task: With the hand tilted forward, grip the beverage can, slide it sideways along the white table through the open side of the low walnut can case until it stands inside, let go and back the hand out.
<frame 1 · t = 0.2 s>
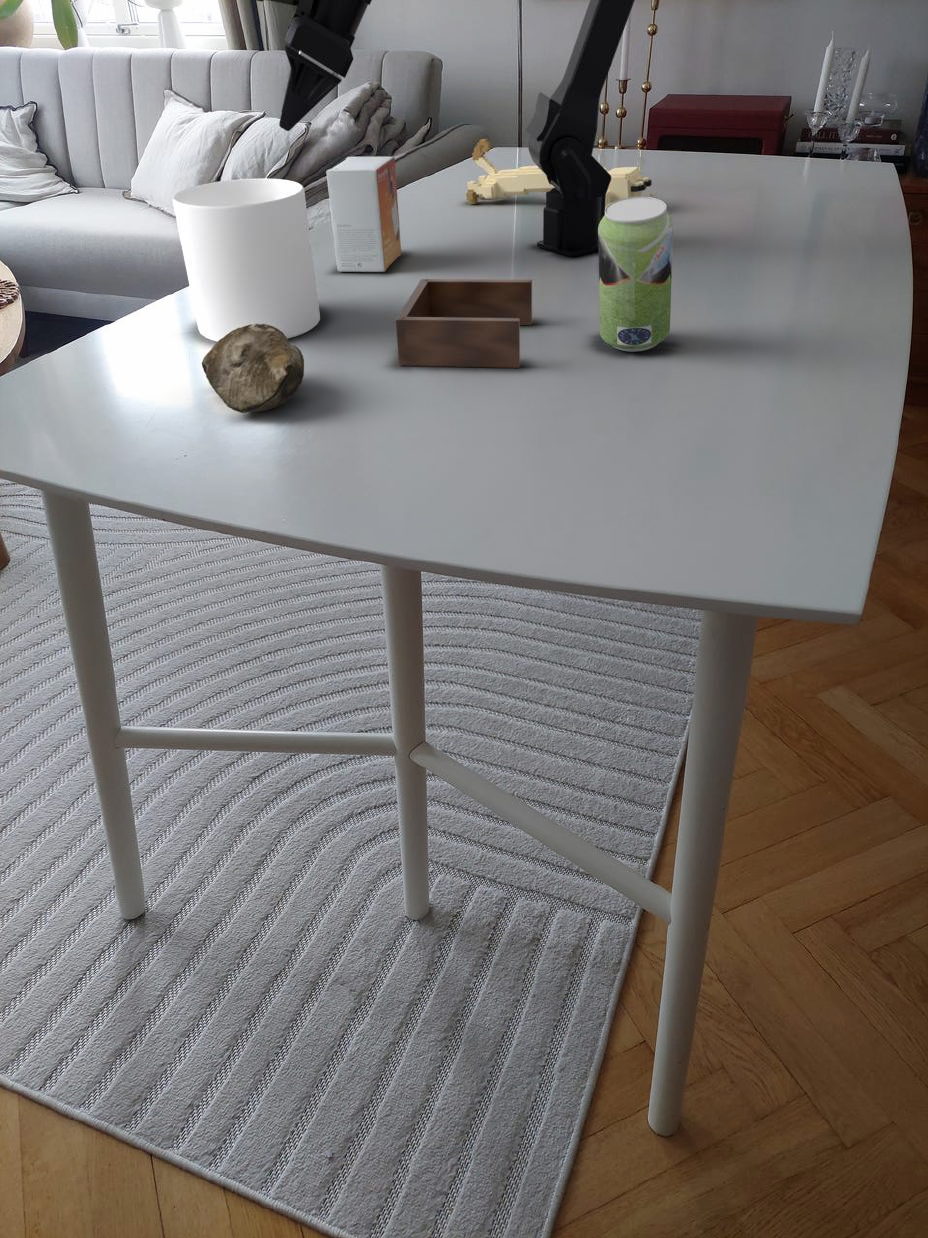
hand: (284, 121, 100), 15 cm above the table, tool tilted 30°, fingers open, 9 cm apart
fossilized seashell: (261, 399, 78), on the table
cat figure: (559, 207, 128), on the table
cup: (260, 325, 93), on the table
beverage can: (630, 348, 85), on the table
small box: (370, 264, 110), on the table
can case: (470, 343, 87), on the table
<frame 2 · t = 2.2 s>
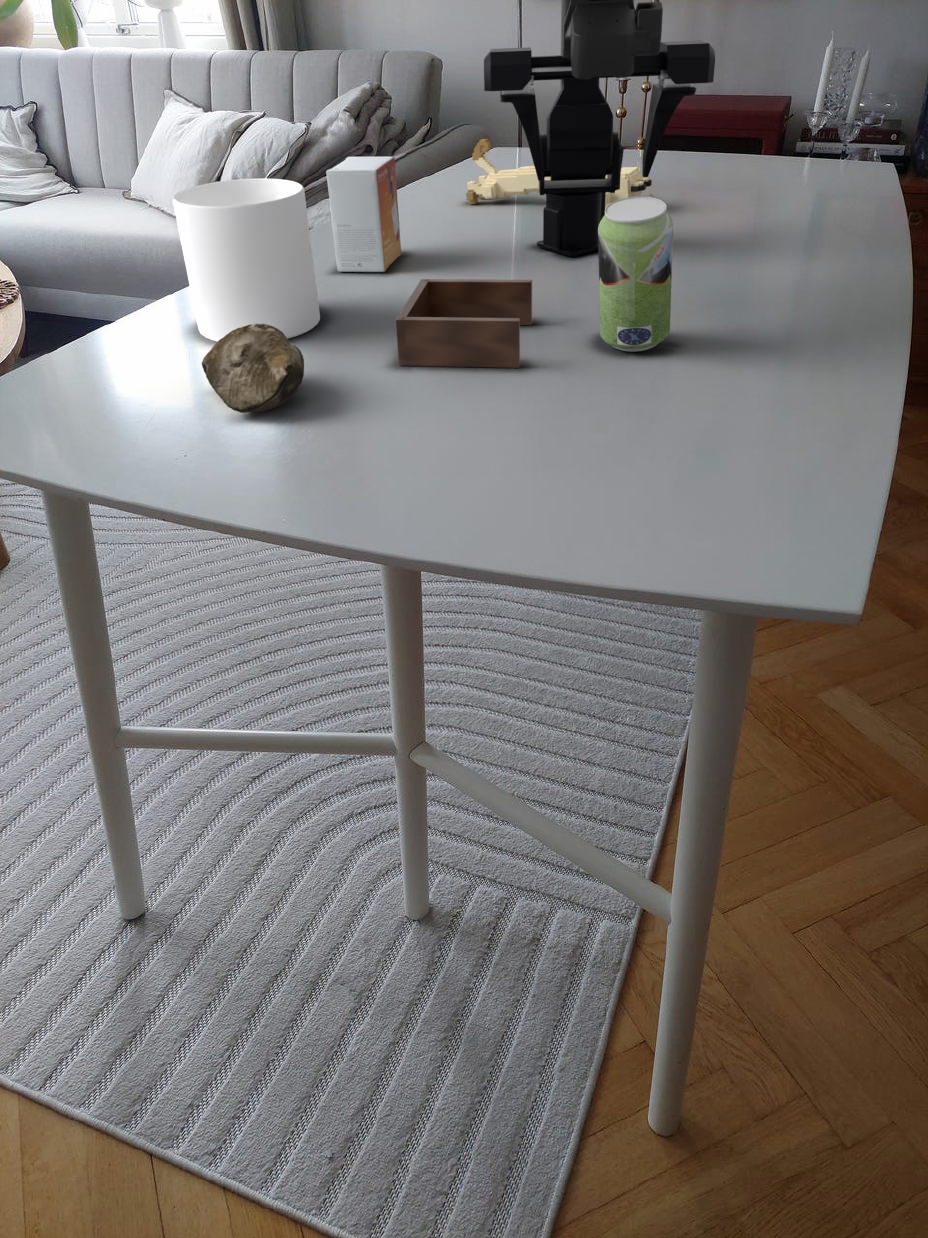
hand: (592, 178, 85), 12 cm above the table, tool pointing down, fingers open, 9 cm apart
nothing on the table moved.
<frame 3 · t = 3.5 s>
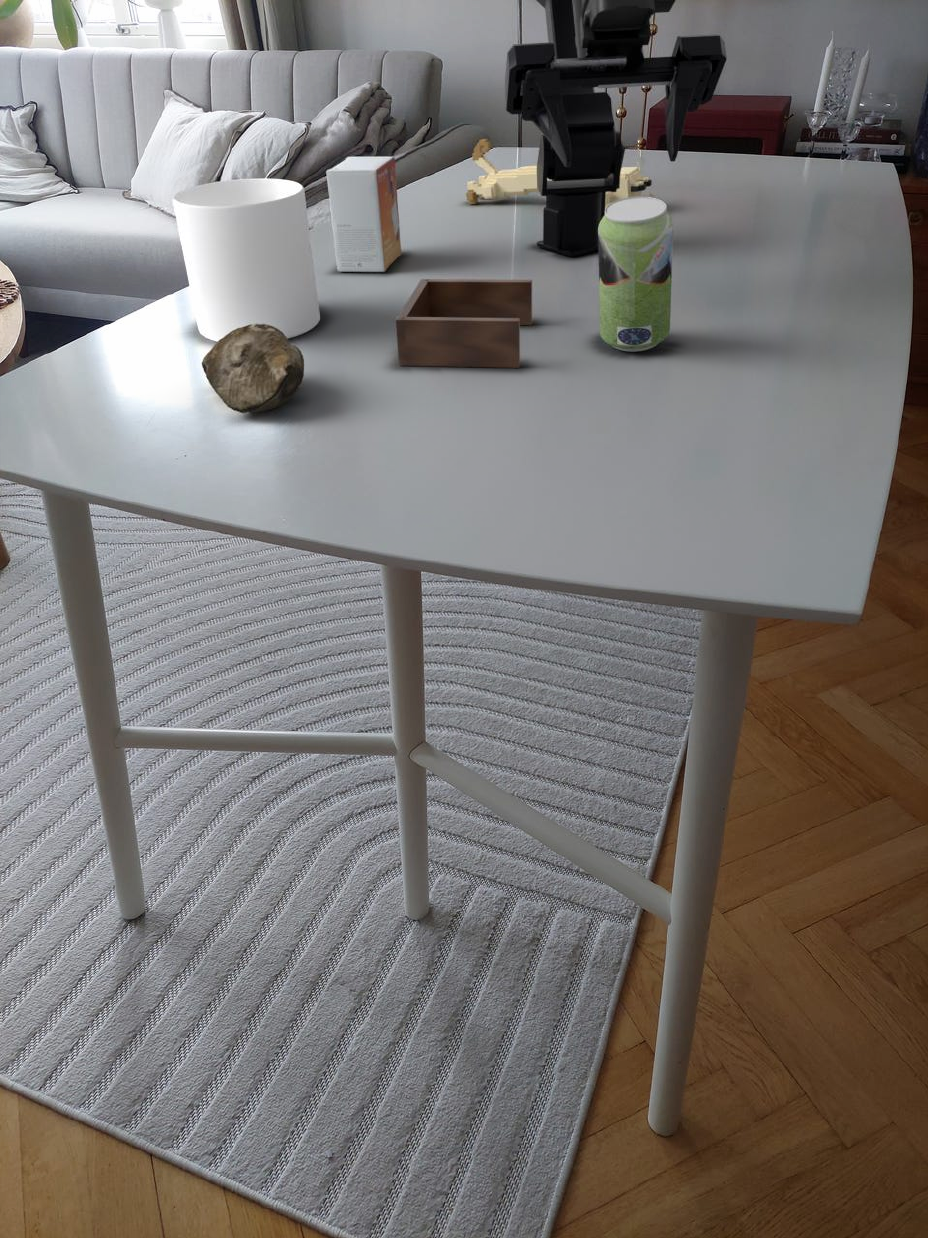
hand: (621, 161, 83), 14 cm above the table, tool tilted 45°, fingers open, 9 cm apart
nothing on the table moved.
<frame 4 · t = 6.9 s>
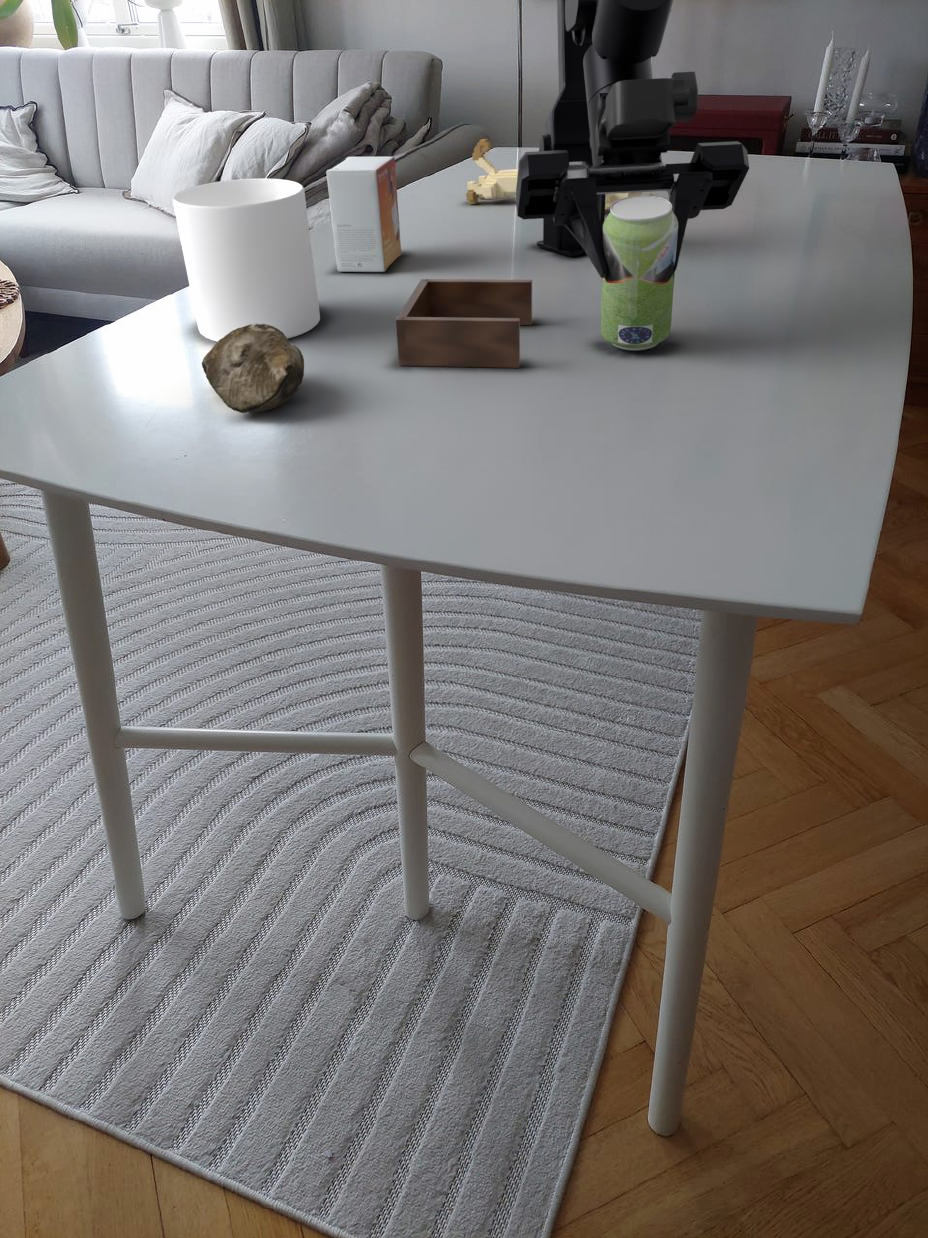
hand: (638, 273, 80), 7 cm above the table, tool tilted 45°, fingers closed on beverage can, 5 cm apart
beverage can: (631, 347, 85), on the table, touching gripper
everything else where it was.
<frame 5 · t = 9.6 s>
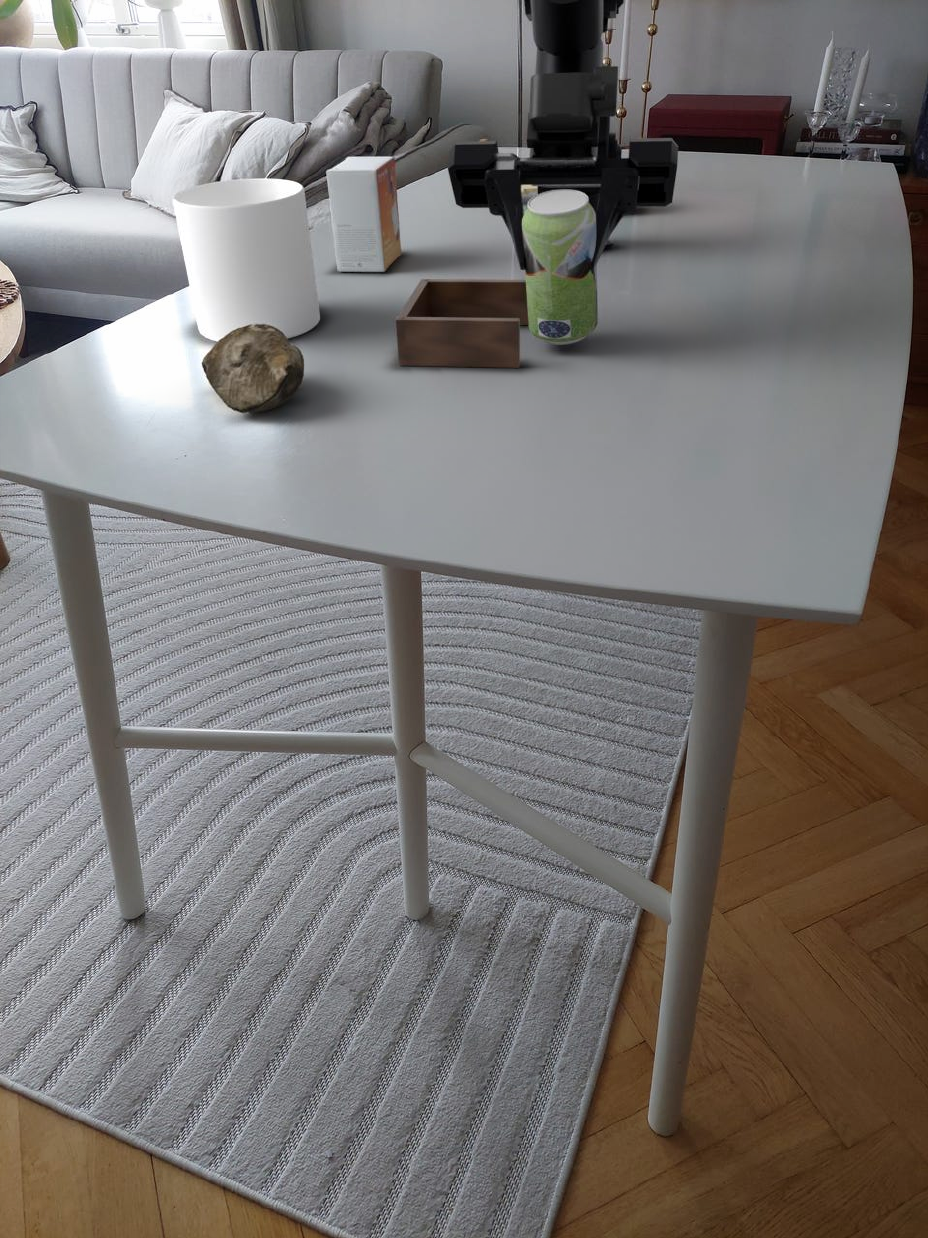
hand: (556, 267, 80), 7 cm above the table, tool tilted 45°, fingers closed on beverage can, 5 cm apart
beverage can: (557, 340, 85), point 1 cm above the table, touching gripper
everything else where it was.
when the fingers open (7 cm above the table, at t = 12.4 s): beverage can stays where it is, on the table.
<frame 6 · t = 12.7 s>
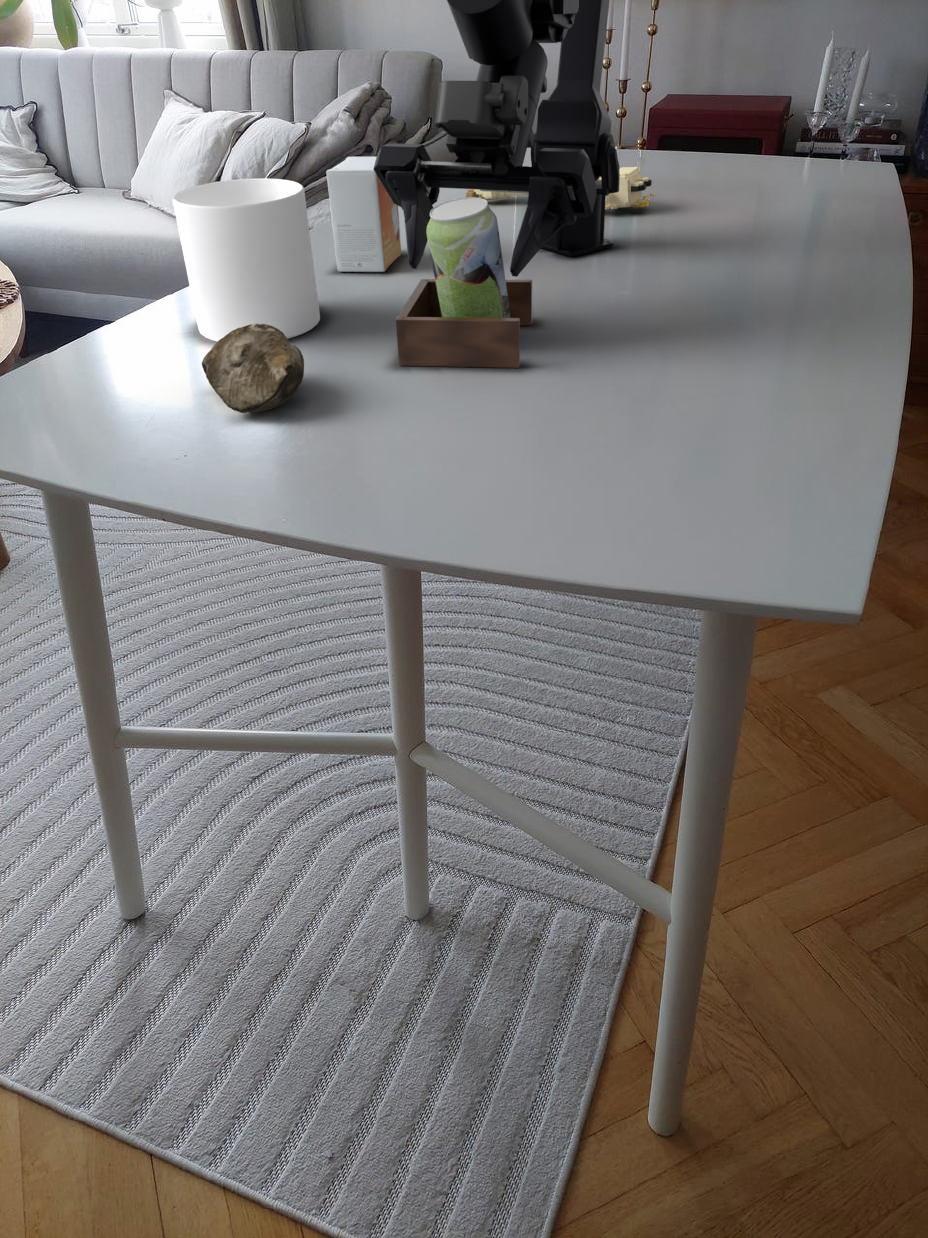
hand: (461, 269, 82), 7 cm above the table, tool tilted 45°, fingers open, 9 cm apart
beverage can: (472, 344, 87), on the table
everything else where it was.
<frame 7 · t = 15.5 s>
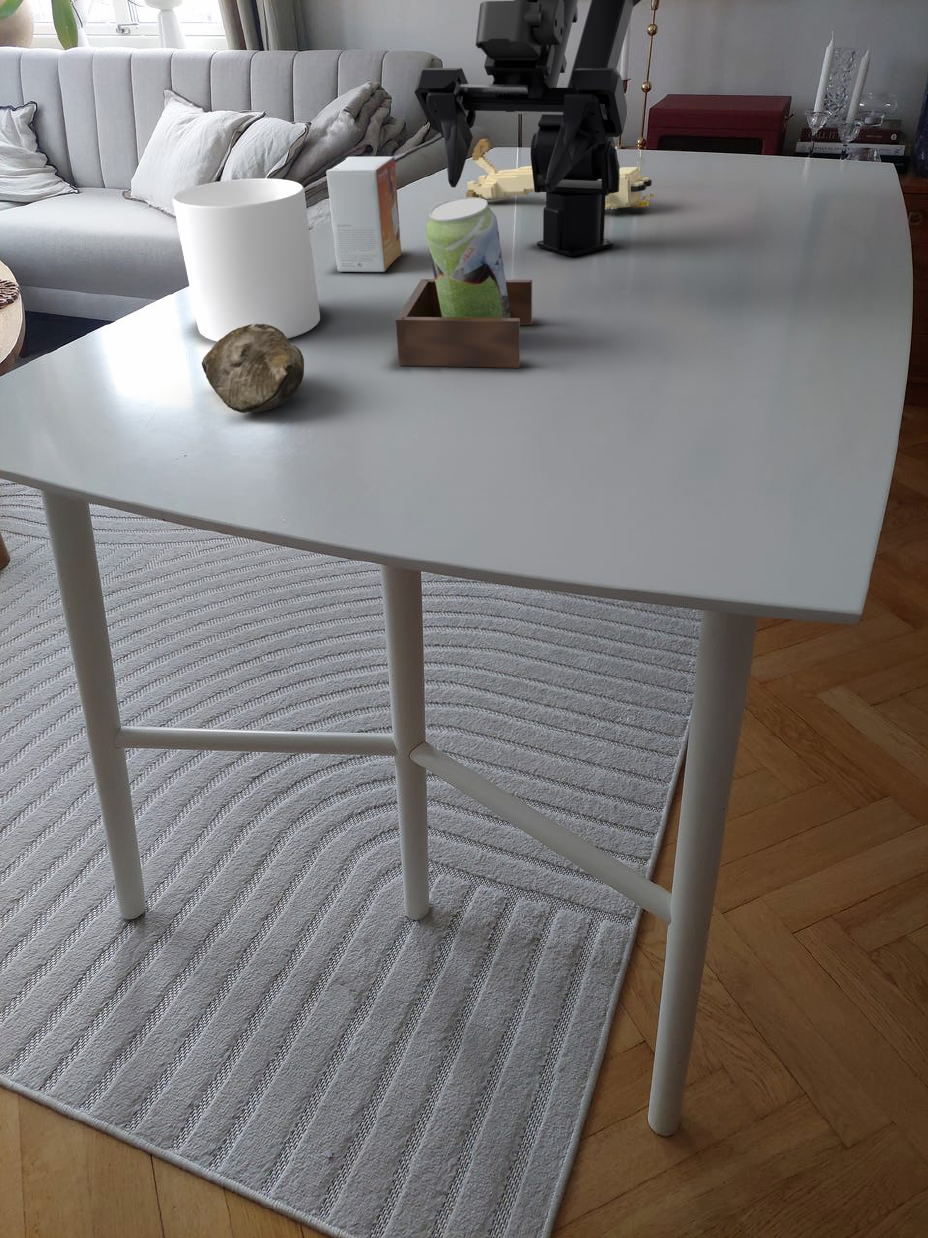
hand: (499, 186, 86), 12 cm above the table, tool tilted 45°, fingers open, 9 cm apart
nothing on the table moved.
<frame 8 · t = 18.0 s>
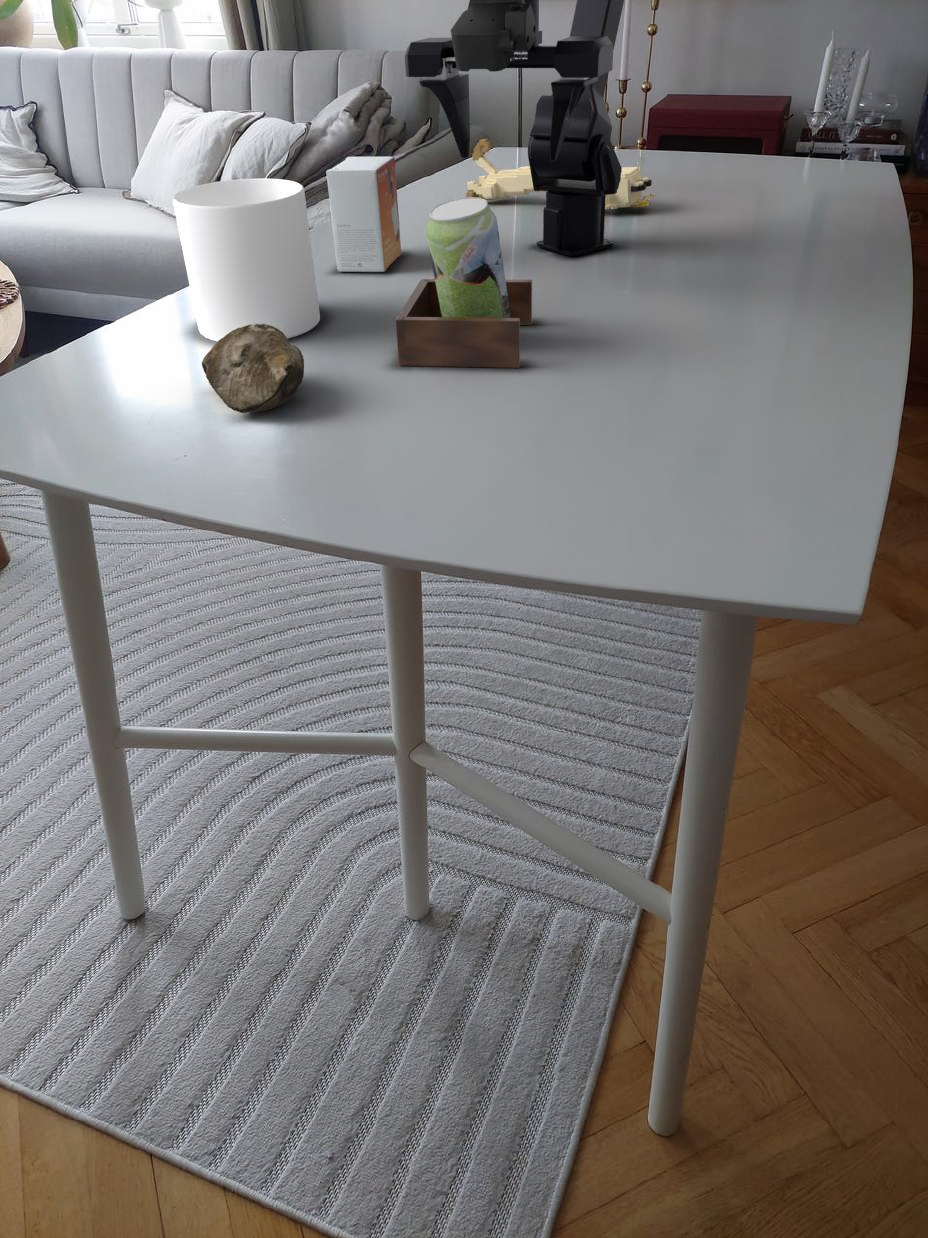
hand: (508, 158, 94), 12 cm above the table, tool pointing down, fingers open, 9 cm apart
nothing on the table moved.
at the end: beverage can 0.2 cm from the can case (horizontally); beverage can tilted 0°; small box moved 0.2 cm from its start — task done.
